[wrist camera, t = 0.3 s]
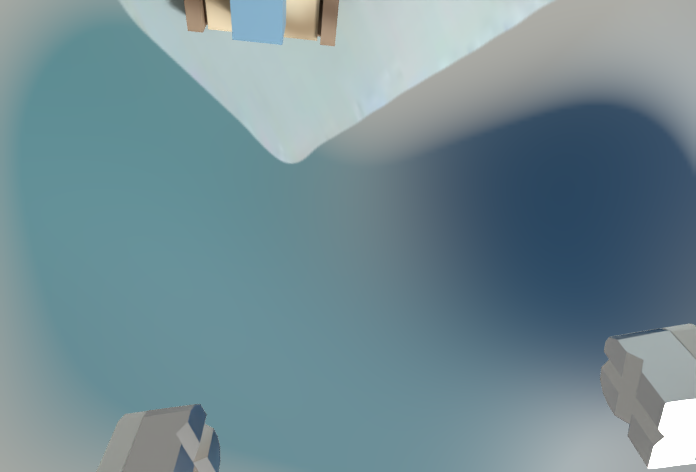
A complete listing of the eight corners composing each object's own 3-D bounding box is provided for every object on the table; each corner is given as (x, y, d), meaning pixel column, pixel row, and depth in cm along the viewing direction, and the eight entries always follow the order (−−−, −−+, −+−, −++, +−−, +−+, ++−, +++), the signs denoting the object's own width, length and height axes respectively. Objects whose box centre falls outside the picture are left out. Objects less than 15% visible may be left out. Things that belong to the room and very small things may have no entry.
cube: (237, -32, 48) (229, -13, 44) (286, -26, 48) (282, -7, 45) (239, 18, 51) (232, 39, 48) (285, 23, 52) (282, 44, 48)
